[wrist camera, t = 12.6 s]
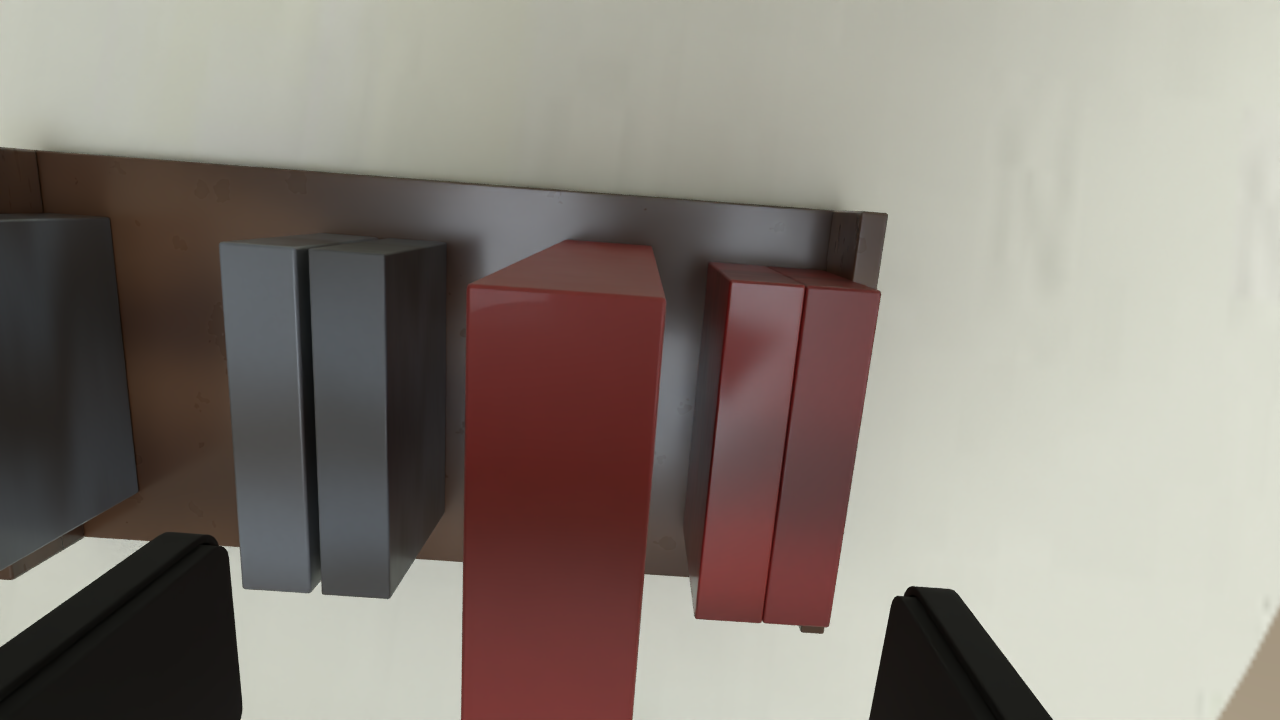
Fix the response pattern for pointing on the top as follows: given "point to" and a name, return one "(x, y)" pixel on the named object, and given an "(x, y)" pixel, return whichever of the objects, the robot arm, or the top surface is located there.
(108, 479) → the book rack
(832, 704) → the top surface
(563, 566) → the red book
